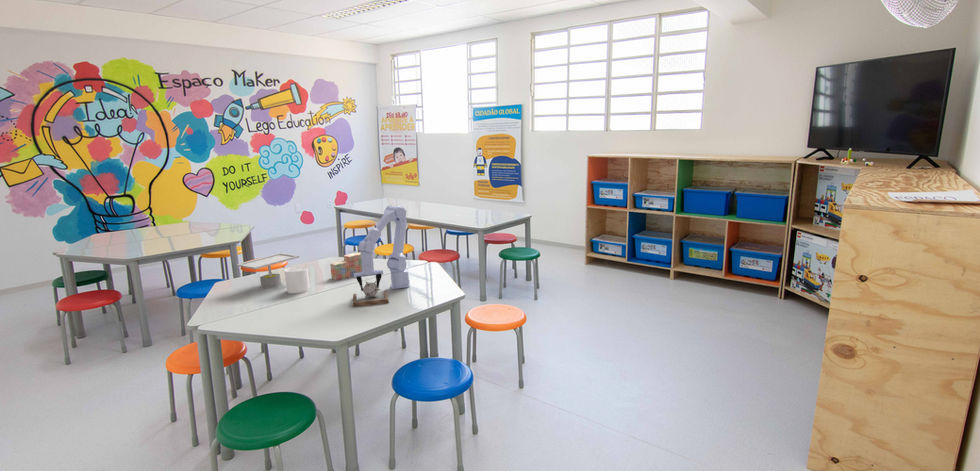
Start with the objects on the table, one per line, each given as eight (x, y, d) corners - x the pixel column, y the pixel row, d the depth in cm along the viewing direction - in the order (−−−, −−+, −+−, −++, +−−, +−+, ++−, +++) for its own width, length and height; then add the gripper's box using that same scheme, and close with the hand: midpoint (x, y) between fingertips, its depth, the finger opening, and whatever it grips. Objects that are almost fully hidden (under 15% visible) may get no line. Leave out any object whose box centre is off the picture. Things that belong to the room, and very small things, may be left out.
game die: (375, 302, 258) (385, 286, 258) (369, 302, 249) (380, 285, 250) (361, 293, 259) (371, 276, 260) (355, 293, 251) (365, 276, 251)
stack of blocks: (336, 280, 287) (334, 259, 285) (331, 278, 292) (329, 258, 289) (369, 272, 302) (367, 252, 299) (363, 270, 306) (361, 251, 304)
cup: (295, 286, 278) (292, 265, 276) (314, 287, 276) (311, 266, 273) (282, 293, 267) (279, 271, 265) (302, 294, 265) (299, 272, 262)
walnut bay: (387, 293, 259) (387, 290, 259) (388, 302, 246) (388, 299, 245) (353, 297, 255) (353, 293, 255) (353, 306, 242) (352, 303, 241)
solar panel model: (258, 294, 266) (255, 267, 263) (239, 290, 275) (236, 264, 272) (302, 280, 289) (299, 255, 286) (283, 277, 298) (280, 252, 295)
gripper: (380, 260, 260) (382, 285, 263) (352, 263, 255) (354, 289, 258) (382, 263, 253) (385, 289, 256) (353, 267, 249) (356, 293, 251)
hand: (369, 289), depth 257 cm, fingers open, 7 cm apart
